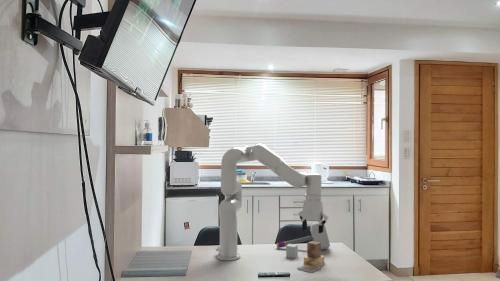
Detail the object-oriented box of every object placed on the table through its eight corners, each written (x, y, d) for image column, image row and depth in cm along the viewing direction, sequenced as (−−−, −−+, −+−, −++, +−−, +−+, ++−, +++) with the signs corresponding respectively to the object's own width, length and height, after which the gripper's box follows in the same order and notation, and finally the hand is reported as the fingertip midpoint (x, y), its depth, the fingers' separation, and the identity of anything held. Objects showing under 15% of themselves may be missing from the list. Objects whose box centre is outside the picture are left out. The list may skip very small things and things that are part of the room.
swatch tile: (297, 269, 176) (297, 267, 176) (306, 265, 182) (306, 263, 182) (311, 272, 170) (311, 271, 170) (320, 268, 176) (320, 267, 176)
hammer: (273, 235, 210) (324, 222, 209) (273, 232, 218) (322, 220, 217) (280, 260, 210) (330, 248, 208) (279, 256, 217) (328, 244, 216)
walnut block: (307, 256, 185) (307, 242, 185) (312, 254, 189) (312, 240, 189) (315, 258, 182) (315, 244, 182) (320, 256, 185) (320, 242, 186)
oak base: (303, 265, 183) (303, 257, 184) (309, 261, 190) (309, 253, 190) (318, 267, 179) (318, 259, 179) (324, 263, 186) (324, 255, 186)
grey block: (286, 257, 196) (286, 245, 197) (288, 254, 201) (288, 243, 201) (295, 258, 195) (295, 246, 195) (297, 255, 199) (297, 244, 199)
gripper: (295, 196, 189) (294, 229, 189) (324, 200, 177) (323, 235, 177) (303, 195, 194) (302, 227, 194) (332, 199, 183) (331, 233, 182)
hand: (312, 231), depth 185 cm, fingers open, 9 cm apart
